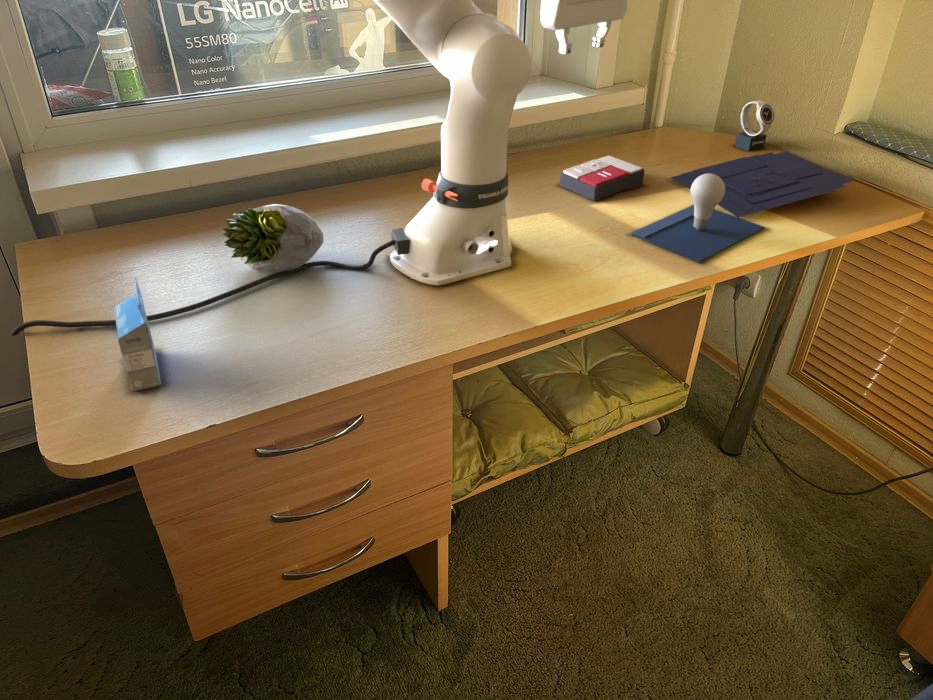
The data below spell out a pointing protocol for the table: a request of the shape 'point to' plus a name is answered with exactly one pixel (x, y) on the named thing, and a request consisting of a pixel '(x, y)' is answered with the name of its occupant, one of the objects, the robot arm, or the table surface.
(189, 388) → the table surface
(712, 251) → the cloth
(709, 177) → the lightbulb
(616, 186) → the button panel
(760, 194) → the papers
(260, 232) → the potted plant
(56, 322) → the robot arm
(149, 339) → the label tape box
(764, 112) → the watch
